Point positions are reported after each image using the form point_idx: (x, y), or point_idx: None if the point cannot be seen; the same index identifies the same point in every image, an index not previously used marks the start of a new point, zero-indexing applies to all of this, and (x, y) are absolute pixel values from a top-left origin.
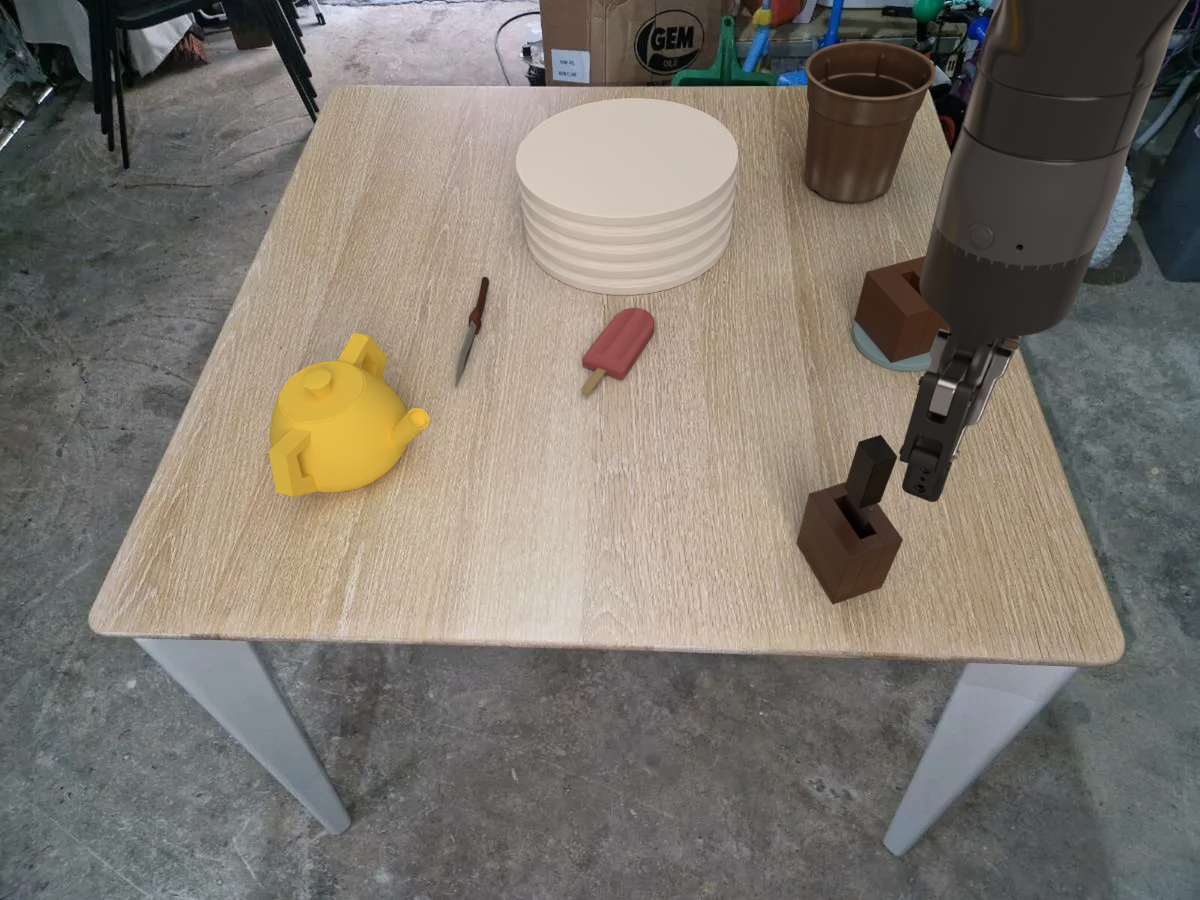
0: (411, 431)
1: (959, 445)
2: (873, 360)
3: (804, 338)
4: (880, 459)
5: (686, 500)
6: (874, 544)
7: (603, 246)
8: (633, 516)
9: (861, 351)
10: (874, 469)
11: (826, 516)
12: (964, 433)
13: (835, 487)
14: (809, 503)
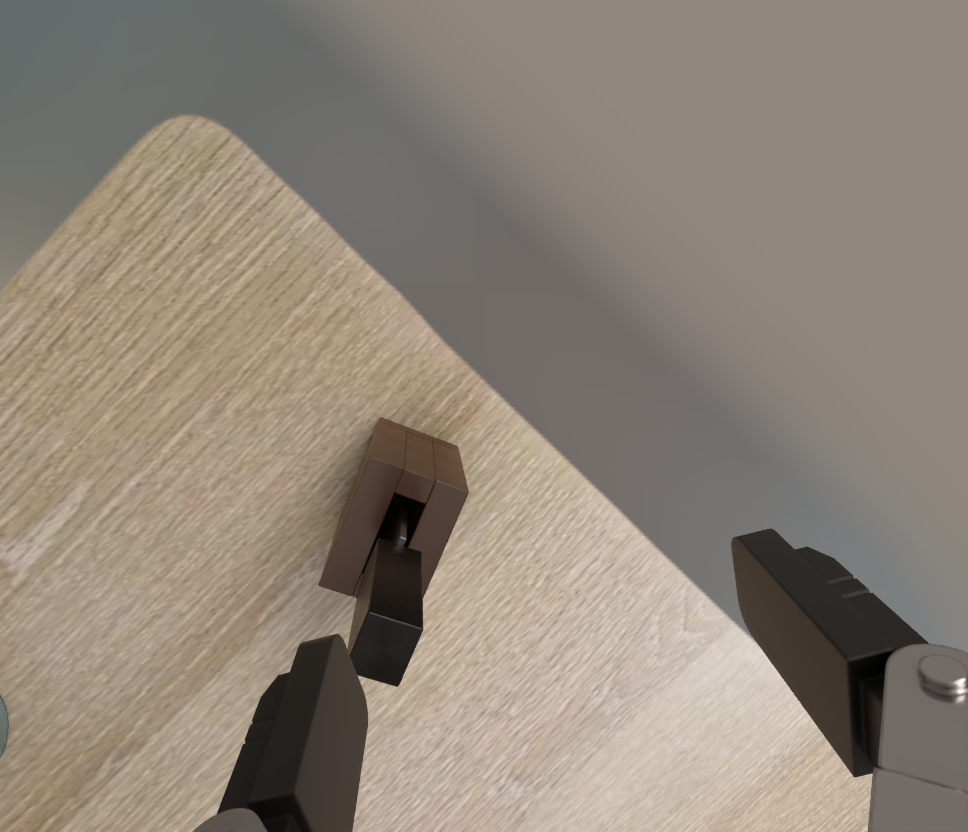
0: None
1: (901, 698)
2: (3, 715)
3: (66, 814)
4: (404, 629)
5: (478, 693)
6: (416, 481)
7: None
8: (553, 716)
9: (4, 740)
10: (419, 615)
11: (431, 568)
12: (891, 742)
13: None
14: None
